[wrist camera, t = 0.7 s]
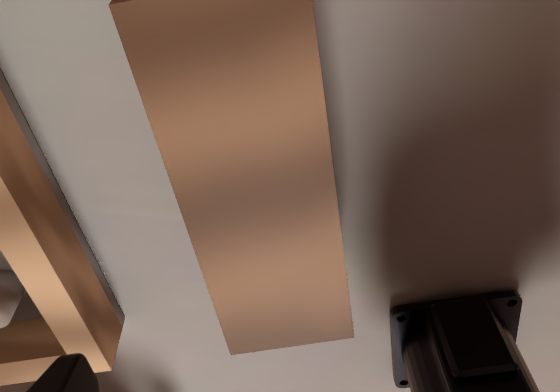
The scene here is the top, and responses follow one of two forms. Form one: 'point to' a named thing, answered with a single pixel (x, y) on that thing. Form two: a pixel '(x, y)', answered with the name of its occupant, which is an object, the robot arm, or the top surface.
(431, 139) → the top surface
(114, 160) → the top surface
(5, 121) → the wooden tray
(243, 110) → the brown wooden block
